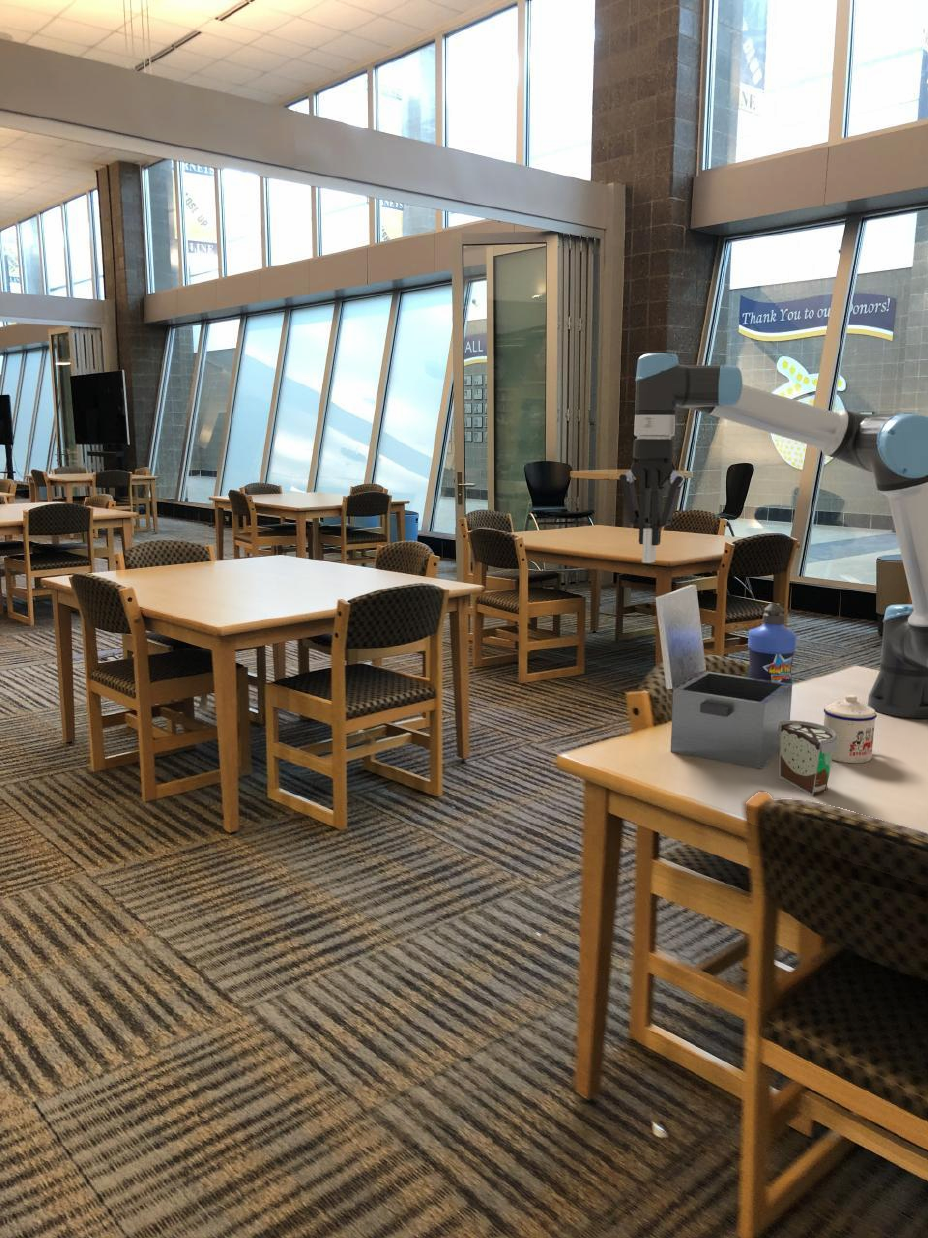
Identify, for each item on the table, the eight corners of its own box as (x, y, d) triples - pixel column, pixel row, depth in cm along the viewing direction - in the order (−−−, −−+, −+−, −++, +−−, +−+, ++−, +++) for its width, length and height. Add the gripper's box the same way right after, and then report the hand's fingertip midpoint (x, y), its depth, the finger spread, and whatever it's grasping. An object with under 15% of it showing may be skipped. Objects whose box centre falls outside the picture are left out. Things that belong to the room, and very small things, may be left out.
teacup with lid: (855, 768, 173) (861, 705, 171) (810, 754, 180) (815, 694, 178) (890, 754, 181) (896, 694, 178) (845, 742, 188) (850, 684, 185)
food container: (850, 795, 160) (855, 738, 158) (818, 799, 159) (823, 741, 157) (804, 770, 172) (808, 716, 170) (774, 774, 170) (778, 719, 168)
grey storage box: (790, 741, 188) (794, 681, 186) (757, 772, 171) (761, 707, 169) (706, 726, 197) (709, 669, 195) (666, 754, 180) (669, 692, 178)
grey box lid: (695, 584, 192) (680, 585, 194) (661, 597, 178) (645, 598, 179) (706, 669, 194) (690, 669, 195) (672, 688, 179) (656, 689, 181)
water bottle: (799, 727, 197) (808, 607, 192) (758, 731, 194) (766, 609, 189) (774, 714, 205) (782, 599, 201) (734, 717, 203) (741, 600, 198)
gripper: (613, 437, 183) (609, 561, 188) (679, 438, 176) (673, 566, 181) (630, 437, 189) (625, 557, 194) (694, 438, 182) (688, 562, 187)
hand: (648, 561), depth 187 cm, fingers closed
